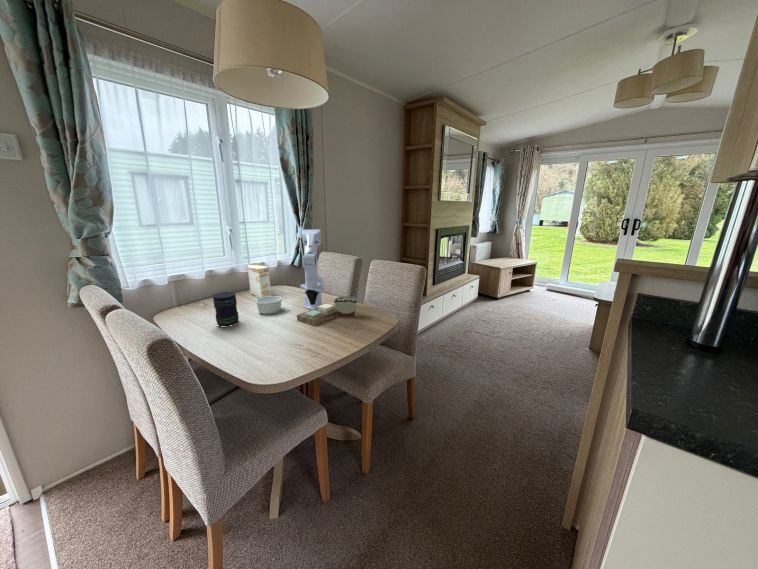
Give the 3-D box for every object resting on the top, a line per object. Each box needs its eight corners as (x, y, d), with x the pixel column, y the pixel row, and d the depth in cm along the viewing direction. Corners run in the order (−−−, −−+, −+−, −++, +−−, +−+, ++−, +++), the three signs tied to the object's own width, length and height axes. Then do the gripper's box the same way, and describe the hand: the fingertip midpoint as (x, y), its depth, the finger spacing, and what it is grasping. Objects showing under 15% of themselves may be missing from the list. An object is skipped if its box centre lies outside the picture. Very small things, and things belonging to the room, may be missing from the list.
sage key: (305, 317, 147) (304, 313, 147) (313, 314, 152) (313, 310, 152) (313, 320, 144) (312, 315, 144) (322, 316, 149) (321, 312, 148)
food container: (359, 314, 157) (359, 296, 154) (357, 318, 151) (357, 299, 148) (337, 313, 158) (336, 295, 156) (334, 317, 152) (333, 299, 150)
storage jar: (234, 318, 151) (231, 290, 147) (242, 323, 144) (239, 294, 140) (213, 323, 144) (209, 294, 140) (221, 329, 137) (216, 298, 133)
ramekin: (277, 315, 155) (276, 303, 153) (252, 315, 155) (251, 302, 154) (285, 307, 168) (284, 295, 166) (263, 307, 168) (261, 295, 166)
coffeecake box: (271, 296, 188) (268, 266, 184) (261, 299, 183) (257, 268, 178) (260, 292, 198) (257, 264, 193) (250, 294, 193) (246, 265, 188)
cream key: (318, 310, 154) (317, 306, 154) (326, 307, 159) (325, 303, 158) (326, 313, 151) (325, 308, 150) (334, 310, 156) (334, 305, 155)
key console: (297, 320, 148) (296, 315, 147) (325, 309, 163) (325, 304, 163) (313, 326, 141) (313, 320, 140) (341, 314, 157) (341, 308, 156)
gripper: (294, 277, 144) (296, 303, 147) (315, 281, 136) (317, 309, 139) (305, 275, 150) (307, 300, 153) (326, 278, 141) (327, 305, 145)
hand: (312, 304), depth 146 cm, fingers closed
